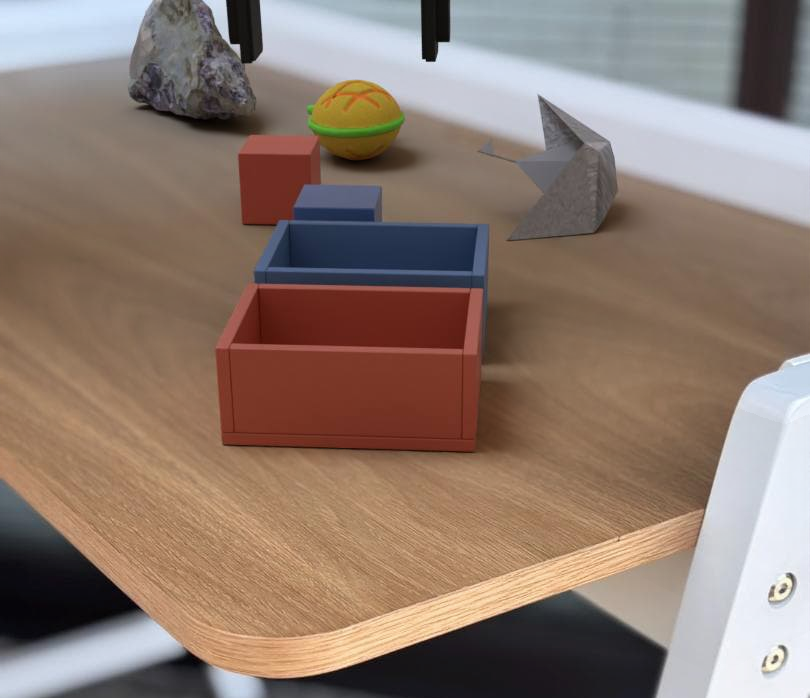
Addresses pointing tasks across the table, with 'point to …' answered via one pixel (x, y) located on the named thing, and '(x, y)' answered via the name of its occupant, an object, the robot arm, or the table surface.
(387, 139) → the yellow round piece
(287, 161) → the terracotta block
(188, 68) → the mineral rock
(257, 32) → the robot arm
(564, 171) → the grey faceted pointed figurine
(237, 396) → the terracotta bin
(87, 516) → the table surface
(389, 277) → the blue bin
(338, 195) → the blue block
